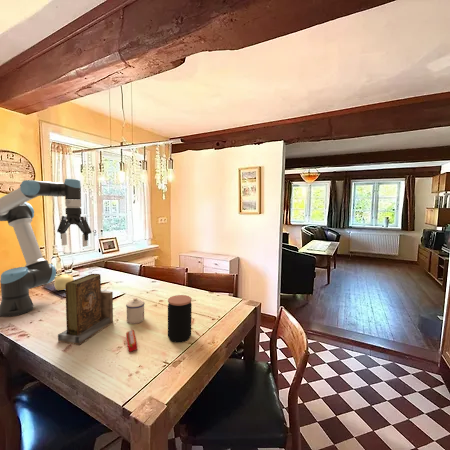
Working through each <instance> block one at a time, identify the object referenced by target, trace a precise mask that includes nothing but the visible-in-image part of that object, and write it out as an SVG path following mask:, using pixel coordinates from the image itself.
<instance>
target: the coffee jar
mask: <svg viewBox="0 0 450 450" xmlns="http://www.w3.org/2000/svg"><path fill="white" fill-rule="evenodd" d="M167 303H168V305H167V337H168V340H170V341H171V342H173V343H177V344H178V343H184V342H187V341H189V339H190V337H192V305H193V304H192V297H191V296H189V295H184V294H177V295H171V296H170V297H169V298H168V300H167Z"/></svg>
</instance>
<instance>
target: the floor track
mask: <svg viewBox="0 0 450 450" xmlns="http://www.w3.org/2000/svg"><path fill="white" fill-rule="evenodd" d="M113 294H114V293H113V291H108V290H101V321H100V322H98V323H97V324H95V325H93V326H92V327H90V328H89V329H87V330H86V331H84V332H82V333H81V334H79V335H78V336H76V335H69V334H67V329H66V330H64V331H62V332H61V333H58V334H57V342H58V343H65V344H68V345H69V344H70V345H75V344H76V345H77V346H81V345H83V344H84V343H85V342H87V341H88V340H90V339H91V338H93V337H94V336H96V334H98V333H100V332H101V331H103V330H104V329H106V328H107V327H108V326H110V325H111V324H112V323H114V308H113V307H114V306H113V305H114V304H113V303H114V301H113V300H114V299H113V298H114V297H113ZM89 338H90V339H89Z"/></svg>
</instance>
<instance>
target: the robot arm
mask: <svg viewBox="0 0 450 450" xmlns="http://www.w3.org/2000/svg"><path fill="white" fill-rule="evenodd" d="M39 196H40V197H41V196H42V197H58V198H59V197H65V198H64V199H65V201H64V204H65V207H66V208H65V215H61V219H60V223H59V224H58V227H57V229H56V231H57V233H59V234H60V239H61V246H66V245H68V238H67V237H68V236H67V235H68V234H67V231H68V229H69V228H70V226H71V225H76V226H77V227H78V229H79V230H80V231H81V233H82V235H81V237H82V238H81V239H82V241H81V242H82V248H83V247H84V248H85V247H88V241H89V235H90V234H92V230H91V227H90V225H89V223H88V221H87V217H86V216H85V215H84V216H81V215H82V208H81V207H82V183H81V180H80V179H77V178H65V179H64V182H54V181H43V180H34V179H28V180H27V179H26V180H23V181H22V182H21V183H20V186H19V187H18V188H16V189H14V190H13V191H10V192H9V193H6V194H5V195H3V196H1V197H0V222H7V223H8V226H9V227H11V228H13V231H14V233H15V236H16V239H17V242H18V244H19V247H20V249H21V252H22V256H23V258H24V260H25V266H19V267H13V268H10V269H6V270H5V271H3V272H2V273H1V274H0V289H1V290H0V292H1V301H0V317H5V318H6V317H15V316H20V315H23V314H27V313H30V312H31V311H33V310H34V303H33V300H32V298H31V296H30V290H31V289H34V288H38V287H40V286H45V285H47V284H51V283H53V281H55V277H57V276H56V275H57V269H56V267H55V265H54V264H53V263H49V261H48V260H47V259H45V258H44V256H43V254H42V251H41V248H40V246H39V243H38V240H37V238H36V234H35V232H34V229H33V227H32V224H31V223H32V222H33V218H34V216H35V209H34V208H33V206H32V204H30V203H29V201H30V200H32V199H35V198H37V197H39Z"/></svg>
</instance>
